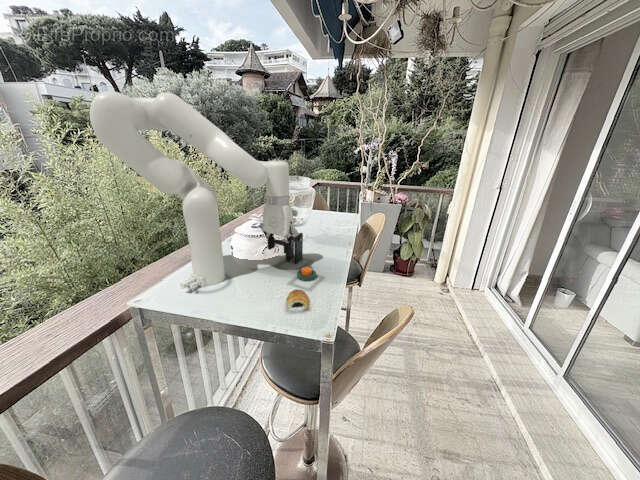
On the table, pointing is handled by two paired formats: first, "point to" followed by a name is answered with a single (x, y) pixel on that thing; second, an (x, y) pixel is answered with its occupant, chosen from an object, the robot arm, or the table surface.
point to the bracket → (296, 249)
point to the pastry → (297, 299)
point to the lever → (279, 241)
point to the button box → (306, 278)
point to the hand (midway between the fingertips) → (279, 249)
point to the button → (306, 271)
